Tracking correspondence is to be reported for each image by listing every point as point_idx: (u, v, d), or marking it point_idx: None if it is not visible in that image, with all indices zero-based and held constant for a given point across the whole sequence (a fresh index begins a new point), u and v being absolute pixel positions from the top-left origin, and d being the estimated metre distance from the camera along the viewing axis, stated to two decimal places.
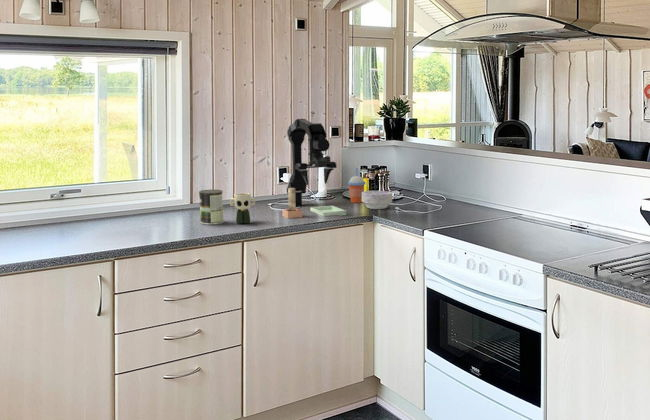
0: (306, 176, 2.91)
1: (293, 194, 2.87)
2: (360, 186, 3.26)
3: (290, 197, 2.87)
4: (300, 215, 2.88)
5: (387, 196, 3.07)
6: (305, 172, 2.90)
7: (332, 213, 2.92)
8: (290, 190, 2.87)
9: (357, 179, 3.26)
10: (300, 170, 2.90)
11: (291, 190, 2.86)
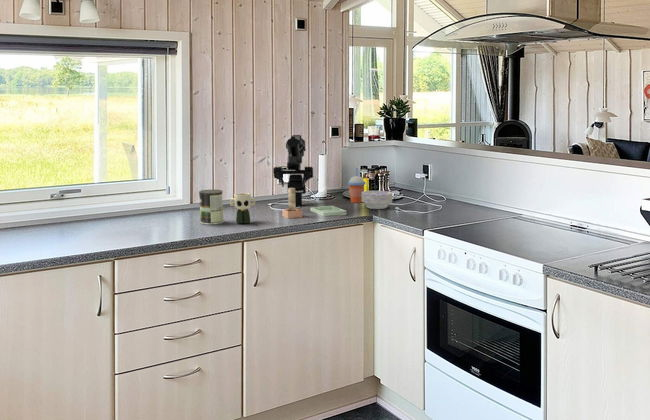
0: (281, 178, 2.97)
1: (293, 194, 2.87)
2: (360, 186, 3.26)
3: (290, 197, 2.87)
4: (300, 215, 2.88)
5: (387, 196, 3.07)
6: (280, 173, 2.98)
7: (332, 213, 2.92)
8: (290, 190, 2.87)
9: (357, 179, 3.26)
10: (276, 174, 2.99)
11: (291, 190, 2.86)
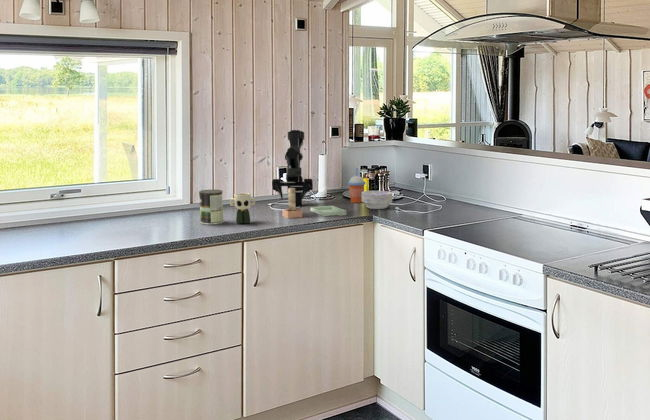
0: (280, 190, 2.91)
1: (293, 194, 2.87)
2: (360, 186, 3.26)
3: (290, 197, 2.87)
4: (300, 215, 2.88)
5: (387, 196, 3.07)
6: (278, 186, 2.91)
7: (332, 213, 2.92)
8: (290, 190, 2.87)
9: (357, 179, 3.26)
10: (275, 186, 2.93)
11: (291, 190, 2.86)
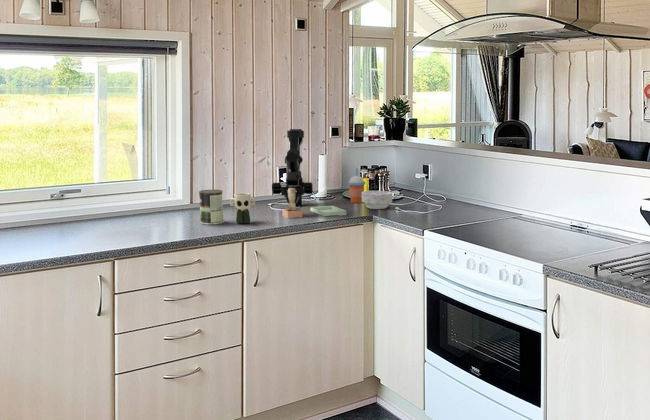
0: (286, 194, 2.89)
1: (293, 194, 2.87)
2: (360, 186, 3.26)
3: (290, 197, 2.87)
4: (300, 215, 2.88)
5: (387, 196, 3.07)
6: (284, 189, 2.89)
7: (332, 213, 2.92)
8: (290, 190, 2.87)
9: (357, 179, 3.26)
10: (281, 189, 2.91)
11: (291, 190, 2.86)
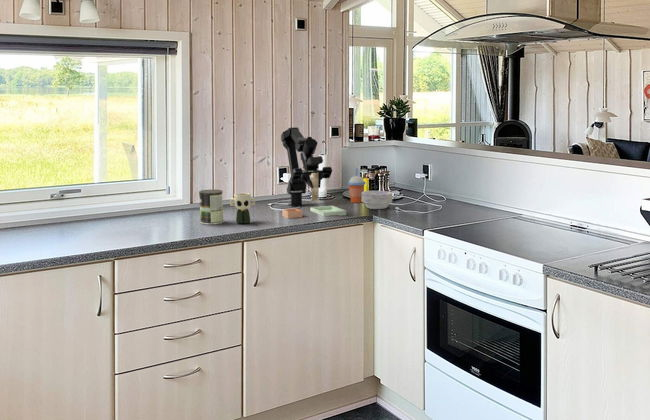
0: (309, 179, 2.91)
1: (317, 179, 2.90)
2: (360, 186, 3.26)
3: (314, 182, 2.90)
4: (300, 215, 2.88)
5: (387, 196, 3.07)
6: (307, 175, 2.91)
7: (332, 213, 2.92)
8: (314, 175, 2.89)
9: (357, 179, 3.26)
10: (302, 175, 2.92)
11: (315, 175, 2.89)
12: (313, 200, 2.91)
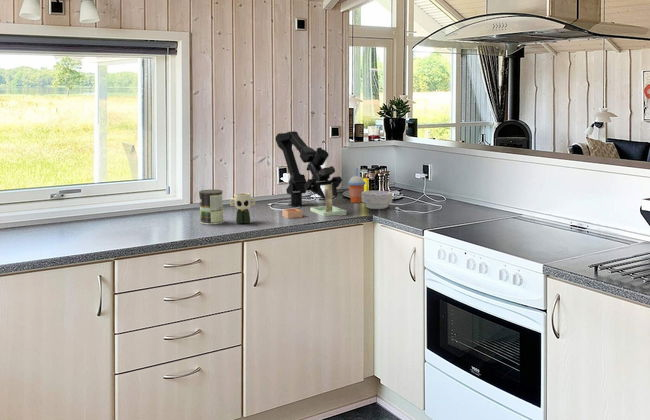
0: (320, 189, 2.95)
1: (331, 190, 2.96)
2: (360, 186, 3.26)
3: (329, 194, 2.96)
4: (300, 215, 2.88)
5: (387, 196, 3.07)
6: (318, 185, 2.95)
7: (332, 213, 2.92)
8: (329, 187, 2.95)
9: (357, 179, 3.26)
10: (313, 186, 2.95)
11: (330, 187, 2.95)
12: (328, 211, 2.97)
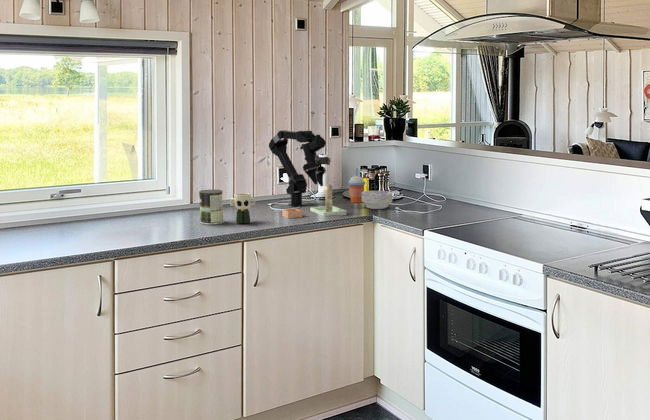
0: (316, 175, 3.01)
1: (331, 190, 2.96)
2: (360, 186, 3.26)
3: (329, 194, 2.96)
4: (300, 215, 2.88)
5: (387, 196, 3.07)
6: (316, 170, 3.01)
7: (332, 213, 2.92)
8: (329, 187, 2.95)
9: (357, 179, 3.26)
10: (311, 169, 2.99)
11: (330, 187, 2.95)
12: None
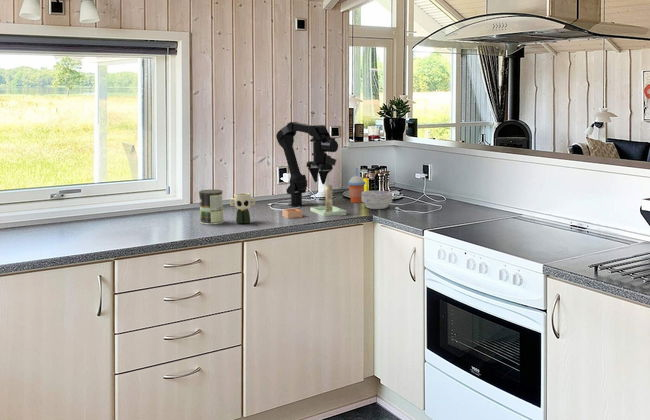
0: None
1: (331, 191, 2.96)
2: (360, 186, 3.26)
3: (329, 194, 2.95)
4: (300, 215, 2.88)
5: (387, 196, 3.07)
6: None
7: (332, 213, 2.92)
8: (329, 187, 2.95)
9: (357, 179, 3.26)
10: (327, 170, 3.00)
11: (330, 187, 2.95)
12: None
